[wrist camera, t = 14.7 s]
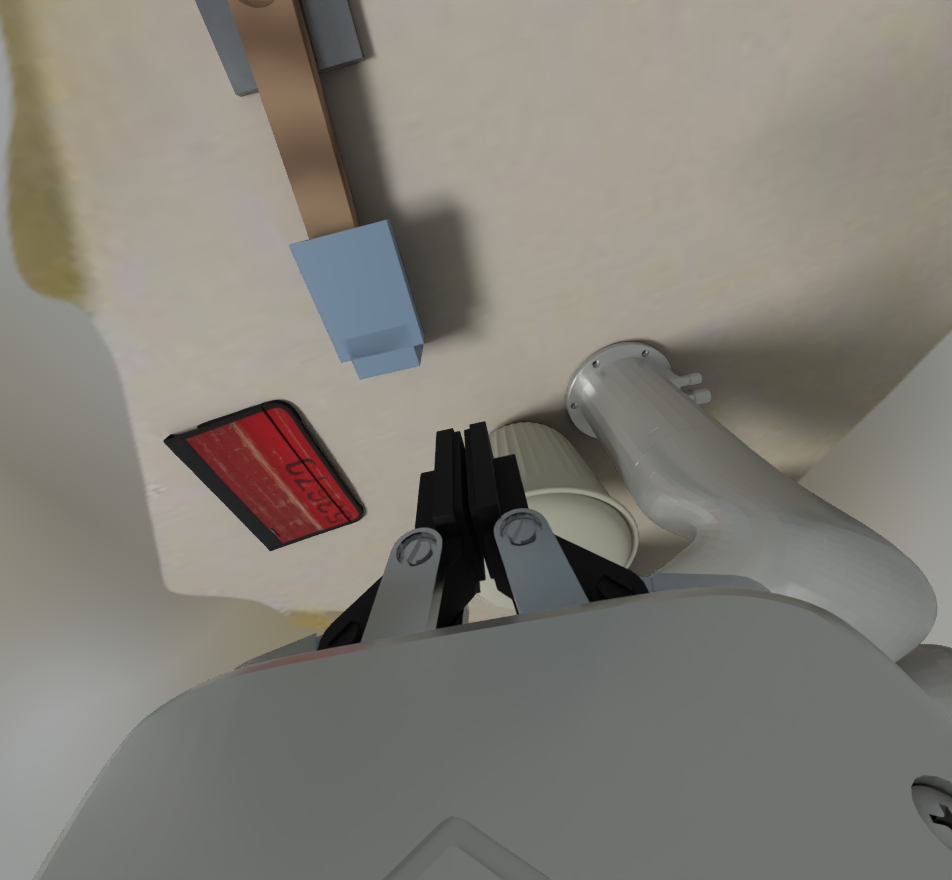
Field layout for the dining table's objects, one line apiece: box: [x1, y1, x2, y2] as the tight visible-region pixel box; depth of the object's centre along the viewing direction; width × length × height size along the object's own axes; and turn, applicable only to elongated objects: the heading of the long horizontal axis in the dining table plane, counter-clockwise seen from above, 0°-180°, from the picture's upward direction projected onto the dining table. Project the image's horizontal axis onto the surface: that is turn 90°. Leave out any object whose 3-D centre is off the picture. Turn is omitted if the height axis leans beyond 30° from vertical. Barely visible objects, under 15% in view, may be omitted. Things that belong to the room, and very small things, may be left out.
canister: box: [475, 422, 639, 611], centre depth 41 cm, size 18×18×21 cm
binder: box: [164, 400, 364, 551], centre depth 49 cm, size 16×2×21 cm
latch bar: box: [228, 0, 360, 239], centre depth 28 cm, size 23×4×4 cm, turn 8°
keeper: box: [289, 219, 425, 379], centre depth 34 cm, size 8×12×6 cm, turn 12°
